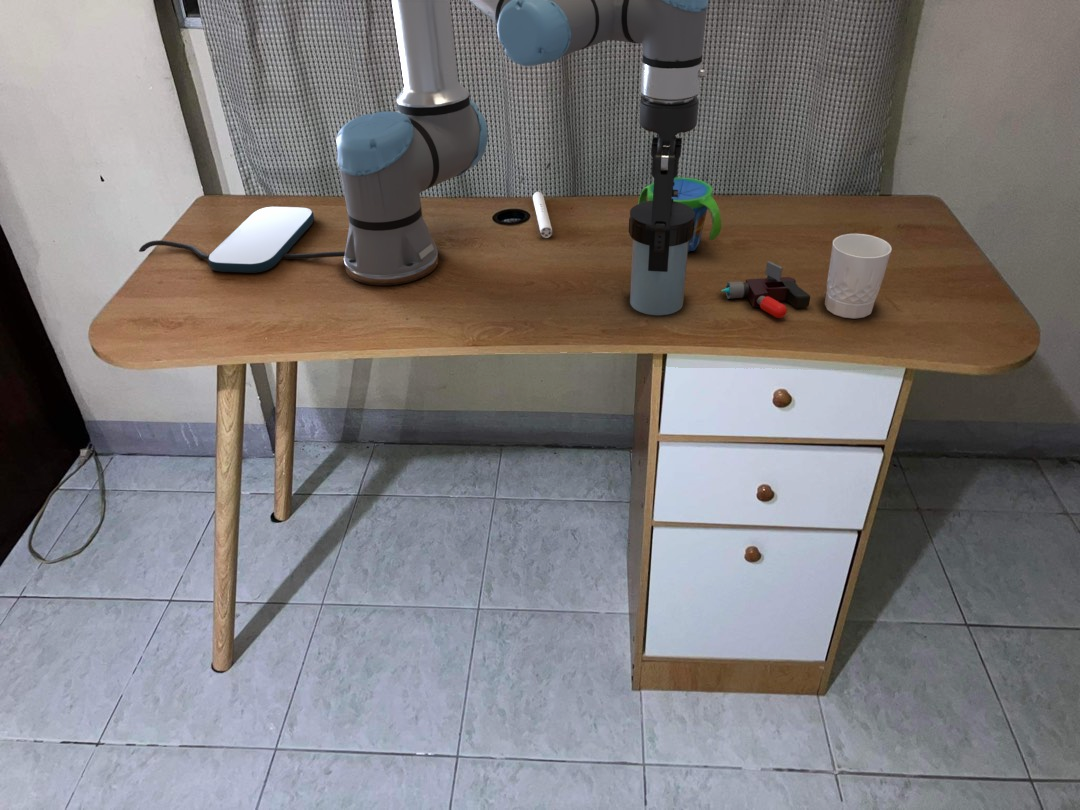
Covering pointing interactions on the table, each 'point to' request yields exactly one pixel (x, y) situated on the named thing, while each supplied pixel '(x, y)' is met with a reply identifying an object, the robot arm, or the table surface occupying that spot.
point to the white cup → (855, 274)
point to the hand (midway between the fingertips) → (659, 254)
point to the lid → (679, 221)
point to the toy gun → (770, 291)
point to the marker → (542, 215)
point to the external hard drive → (261, 240)
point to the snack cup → (693, 205)
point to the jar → (658, 281)
